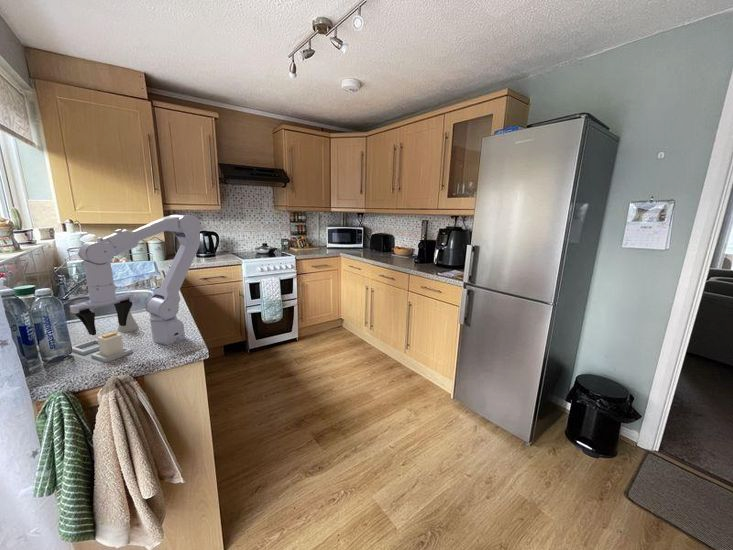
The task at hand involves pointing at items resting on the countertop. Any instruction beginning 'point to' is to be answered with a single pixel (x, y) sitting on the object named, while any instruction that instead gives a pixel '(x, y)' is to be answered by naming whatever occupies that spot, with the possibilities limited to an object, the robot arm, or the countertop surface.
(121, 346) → the plug
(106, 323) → the countertop surface
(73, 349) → the panel
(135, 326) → the flask
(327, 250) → the countertop surface
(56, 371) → the countertop surface
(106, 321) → the countertop surface
